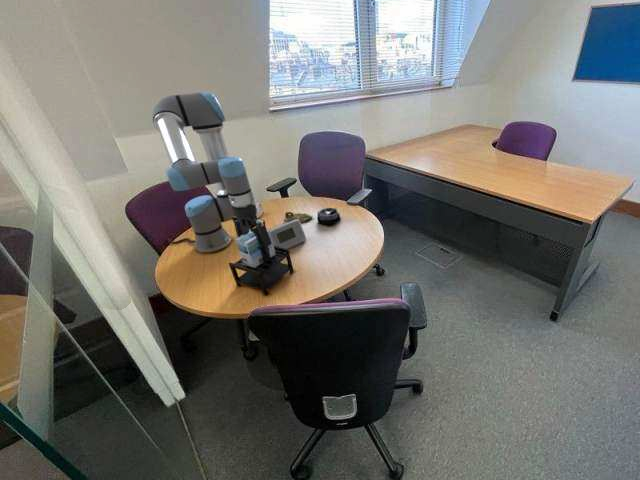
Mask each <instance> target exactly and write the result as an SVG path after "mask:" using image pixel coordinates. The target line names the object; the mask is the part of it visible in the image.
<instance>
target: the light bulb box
mask: <svg viewBox="0 0 640 480" xmlns="http://www.w3.org/2000/svg"><path fill="white" fill-rule="evenodd" d="M269 230H270V229H267V232H268V234H269V237H270V240H271V242H272V238H271V234H270V231H269ZM234 240H235V243H236V245H237V249H238V251H239V255H240V258H241V259H242V260H243V263H244V265H245V264H247V266H248V265H249V266H251V267H253V268H255V267H256V266H258V265H260V264H261V263H263V262H264V259H263V256H262V253H261V249H260V247H261V245H260V243H259V242H258V240H257V238H256V237H255V235H254V233H253V232H251V230H249V232H248V233H246V234H245V235H241V236H240V237H237V238H235V239H234ZM263 244H264V243H263ZM268 248H269V251H270V253H269V254H270V257H272V256H274V255H276V254H275V250H274V246H273V242H272V244H271V245H269V246H268Z"/></svg>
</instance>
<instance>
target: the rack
mask: <svg viewBox="0 0 640 480" xmlns="http://www.w3.org/2000/svg"><path fill="white" fill-rule="evenodd" d="M274 250H277V251H275V254H276V255H274V256H272V257H271V259H270V260H268V261H267V262H263V263H261V264H260V265H258V266H256V267H255V268H253V267H251V266H249V265H247V264H244V263H243V260H242V258H240V259H239V260H237V261H235V262H231V261H230V262H228V265H229V269H230V271H231V274H232V276H233V279H234V282H235V284H236V287H238V288H239V287H241V286H242V285H243V286H248V287H250V288H253V289H256V290H258V291H261V292H262V294H263V296H265V297H267V296H268V295H269V291H268V290H269V289H270V288H271V287H272V286H273V285H274V284H276V283H277V282H278V281H279V280H280V279H281V278H283V277H284V276H285V275H286V274H287V273H288V272H289V273H290V274H293V273H294V271H295V269H294V267H293V261H292V258H291V254H290V249H285V248H281V247H277V246H274ZM279 251H280V252H279ZM285 259H286V262H287V263H284V262H283V261H284V260H285ZM237 270H239V271H243V272H244V273H242V274H241V275H240V276H239V274H238V271H237Z"/></svg>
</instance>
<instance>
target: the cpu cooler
mask: <svg viewBox="0 0 640 480" xmlns="http://www.w3.org/2000/svg"><path fill="white" fill-rule="evenodd" d="M337 209H338V208H335V207H325V208H322V209H320V210H319V211H317V217H316V218H317V223H318V224H320V225H323V226H328V227H330V226H333V225H335V224H336V223H338V222H340V221H341V214H340V213H339V211H338V210H337Z"/></svg>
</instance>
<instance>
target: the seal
mask: <svg viewBox="0 0 640 480" xmlns="http://www.w3.org/2000/svg"><path fill="white" fill-rule="evenodd" d="M296 219H299V221H300V223H301V224H302V223H306V222H309V221H310V220H313V216H311V215H310V214H308V213H301V212H299V213H294V212H292V211H286V212H285V213H284V220H285V221H286V223H287V222H290V221H293V220H296Z"/></svg>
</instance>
